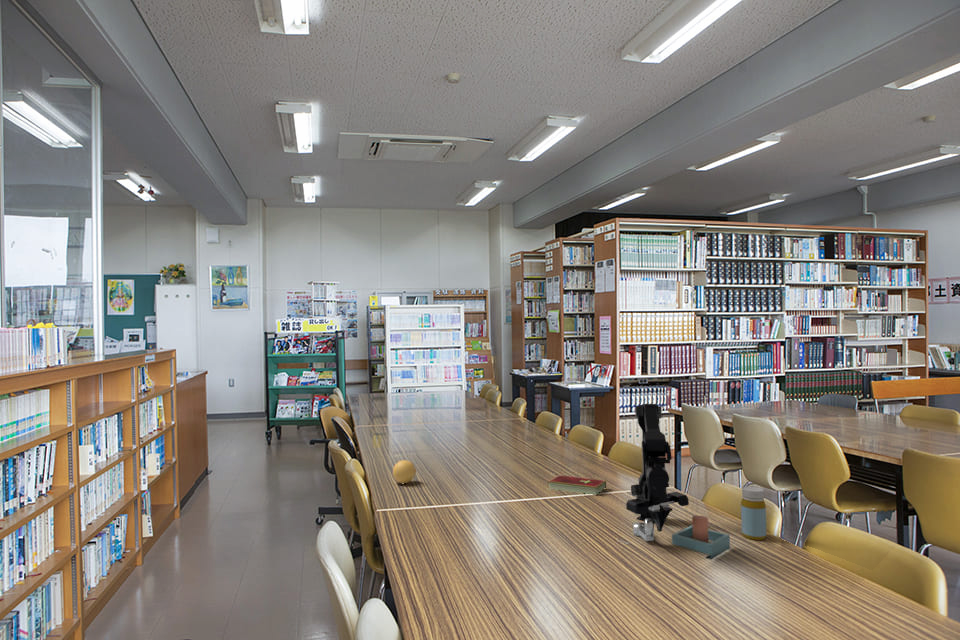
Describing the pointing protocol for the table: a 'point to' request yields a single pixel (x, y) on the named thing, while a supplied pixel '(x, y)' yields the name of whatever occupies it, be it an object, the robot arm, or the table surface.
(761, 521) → the bottle
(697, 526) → the pin
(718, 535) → the tray
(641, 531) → the crank
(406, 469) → the stress ball
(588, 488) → the hardcover book
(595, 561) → the table surface
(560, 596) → the table surface
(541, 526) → the table surface
